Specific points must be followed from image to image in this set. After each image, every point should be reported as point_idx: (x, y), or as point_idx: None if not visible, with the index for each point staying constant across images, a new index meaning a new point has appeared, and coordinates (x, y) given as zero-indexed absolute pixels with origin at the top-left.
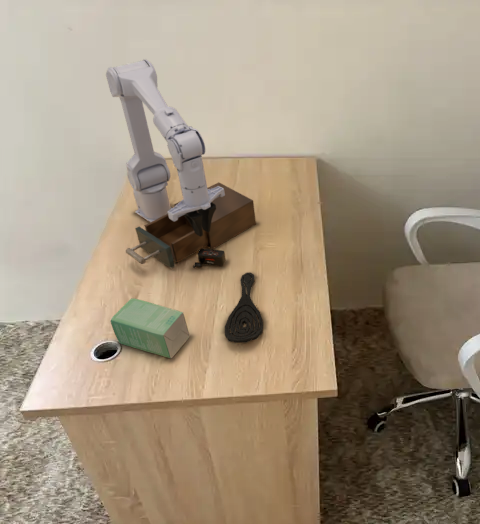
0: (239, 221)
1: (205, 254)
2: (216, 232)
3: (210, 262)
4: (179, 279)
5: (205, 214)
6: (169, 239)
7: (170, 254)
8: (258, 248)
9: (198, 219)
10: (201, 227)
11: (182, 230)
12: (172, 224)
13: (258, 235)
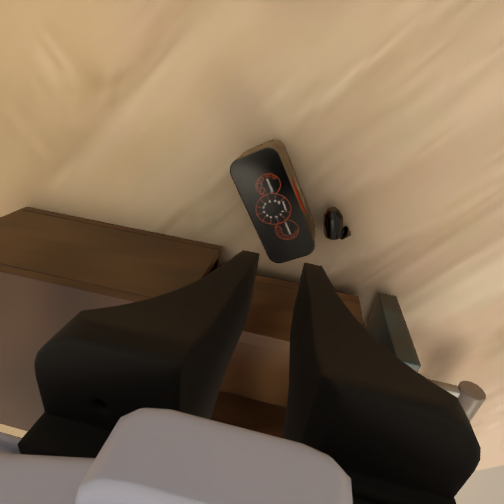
0: (57, 240)
1: (295, 222)
2: (167, 269)
3: (299, 189)
4: (425, 236)
5: (213, 355)
6: (277, 381)
7: (397, 332)
8: (103, 93)
9: (370, 366)
10: (314, 294)
11: None
12: (227, 413)
13: (55, 154)
